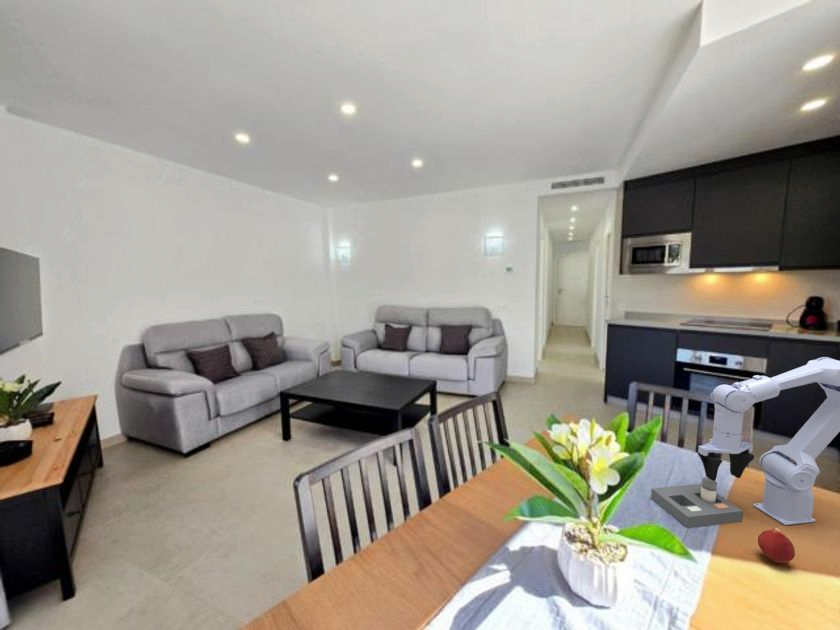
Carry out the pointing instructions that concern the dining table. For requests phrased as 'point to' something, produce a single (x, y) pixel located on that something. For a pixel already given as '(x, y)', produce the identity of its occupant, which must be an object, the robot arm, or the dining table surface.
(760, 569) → the dining table surface
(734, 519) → the socket panel
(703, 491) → the plug
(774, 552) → the red rounded oval piece
